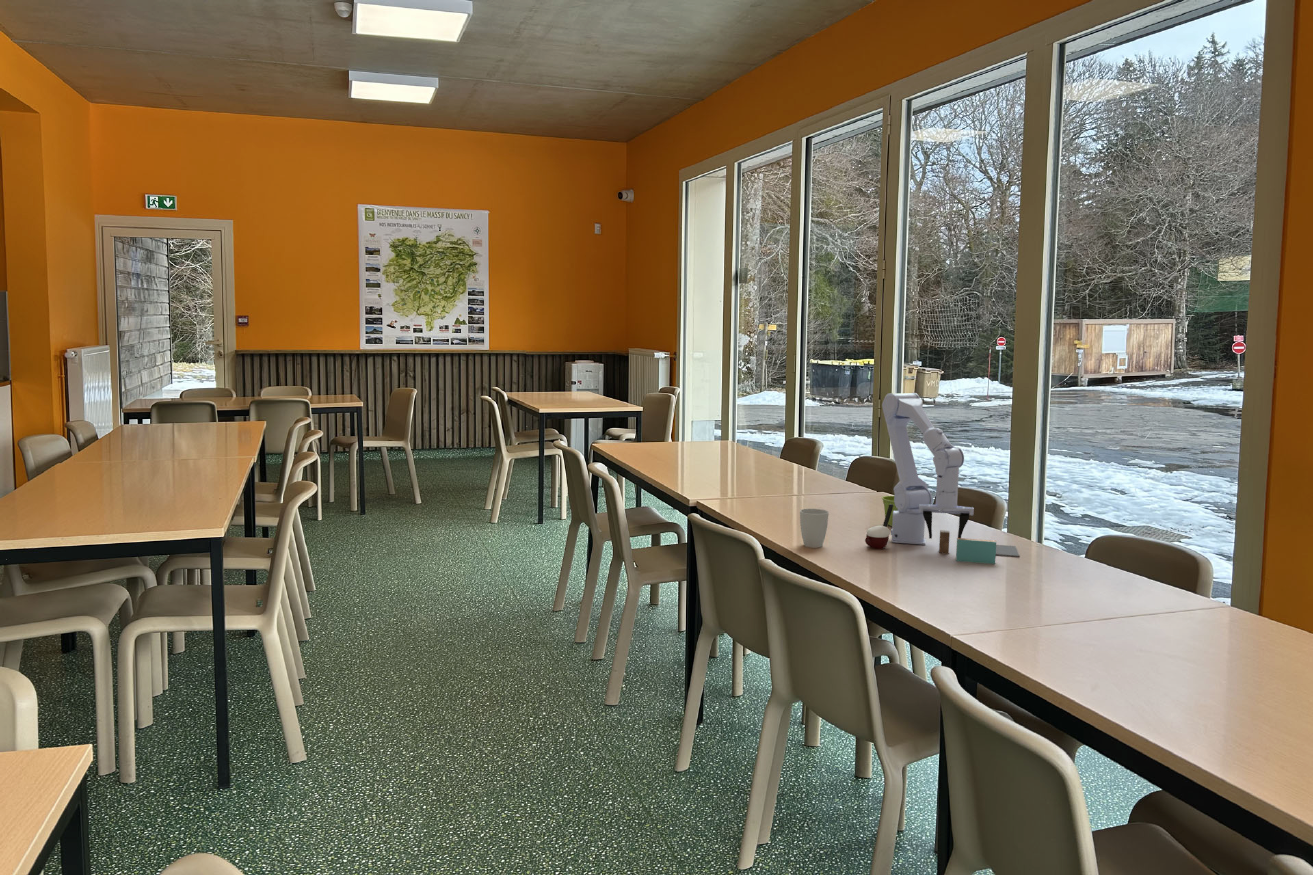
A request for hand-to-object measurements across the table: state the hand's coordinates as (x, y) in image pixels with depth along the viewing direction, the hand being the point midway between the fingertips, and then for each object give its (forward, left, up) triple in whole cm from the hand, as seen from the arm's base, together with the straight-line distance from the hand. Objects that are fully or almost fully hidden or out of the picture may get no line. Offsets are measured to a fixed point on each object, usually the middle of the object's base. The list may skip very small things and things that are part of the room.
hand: (944, 538), depth 265 cm
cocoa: (-18, 0, -4) cm, 19 cm away
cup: (-36, -4, -4) cm, 37 cm away
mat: (+14, +7, -4) cm, 16 cm away
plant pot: (-14, +33, -4) cm, 36 cm away
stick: (0, 0, -4) cm, 4 cm away
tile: (+8, -8, -4) cm, 12 cm away
